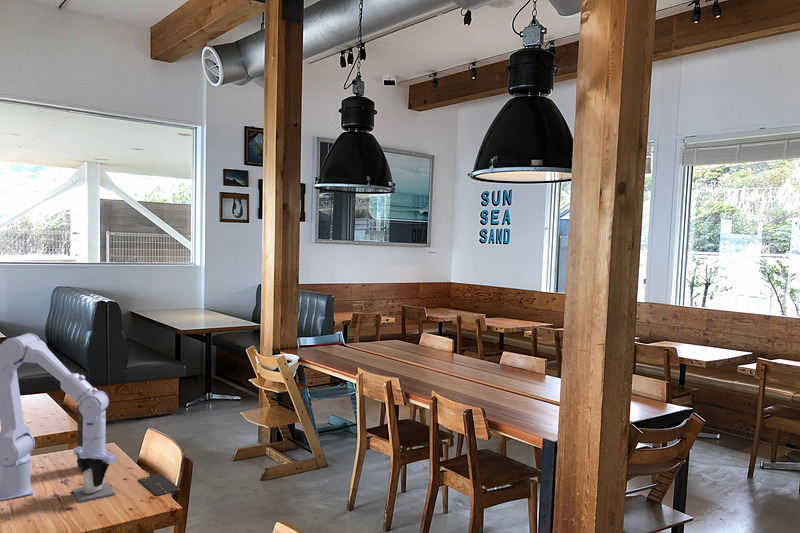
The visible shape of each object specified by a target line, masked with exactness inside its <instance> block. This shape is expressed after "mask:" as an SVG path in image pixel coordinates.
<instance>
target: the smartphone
mask: <svg viewBox="0 0 800 533" xmlns="http://www.w3.org/2000/svg"><path fill="white" fill-rule="evenodd" d="M138 481H139V482H140V483H141V484H142V485H143V486H142V485H141V484H140V483H139V482H138ZM137 482H138V483H139V484H140V485H141V486H142V487H144V488H145V489H146V490H147V491H149V493H151V495H153V496H155V497H160V496H161V497H162V496H164V495H168V494H173V493H176V492H179V491H181V488H180V487H179V486H178V485H176V484H175V483H174V482H173V481H171V480H170V479H168V478H167V476H165V475H163V474H161V473H158V474H154V475H151V476H145V477H141V478H138V479H137ZM160 486H161V487H160ZM162 488H163V489H162ZM165 491H166V492H167V493H166V492H165Z"/></svg>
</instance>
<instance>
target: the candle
mask: <svg viewBox="0 0 800 533" xmlns="http://www.w3.org/2000/svg"><path fill="white" fill-rule="evenodd" d="M79 406H80V405H78V404H77V405H76V415H77V416H76V417H77V418H76V421H77V422H76V423H77V425H76V426H77V428H76V429H77V432H76V433H77V434H76V435H77V446H76V447H79V446H81V447H83V415H82V414H81V413H80V411H79ZM79 456H80V455H76V457H77V459H76V461H77V460H78V459H81V458H79ZM77 469H79V470H81V468H80V466H79V465H78V464H77Z"/></svg>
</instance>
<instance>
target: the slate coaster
mask: <svg viewBox="0 0 800 533" xmlns="http://www.w3.org/2000/svg"><path fill="white" fill-rule="evenodd" d="M72 493H73V494H74V496H75V498H76V499H77V501H78V502H79V503H84V502H89V501H94V500H98V499H102V498H103V499H105V498H108V497H112V496H115V495H116V492H115V490H113V487H111V485H110V484H109V483H108V482H104V488H103V489H100V490H98V491H95V492H93V493H89V494H85V493H83V486H82V487H79V488H78V487H77V488H72Z"/></svg>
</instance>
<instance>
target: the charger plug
mask: <svg viewBox="0 0 800 533" xmlns="http://www.w3.org/2000/svg"><path fill="white" fill-rule="evenodd" d="M82 482H83V483H82V487H83V493H85V494H89V493H93V492H95V491H98V490H100V489H103V488H104V483H105V478H104V479H103V483H102V485H100V486H97V487H95V486H94V483H93V473H92V470H91V469H89V470H86V471H84V472H83V473H82Z"/></svg>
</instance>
